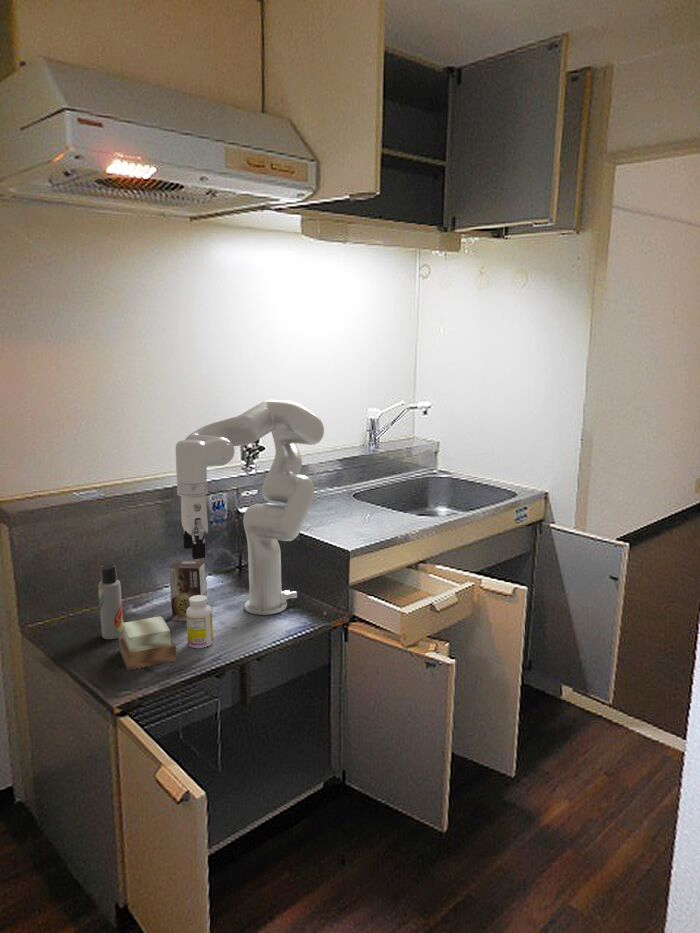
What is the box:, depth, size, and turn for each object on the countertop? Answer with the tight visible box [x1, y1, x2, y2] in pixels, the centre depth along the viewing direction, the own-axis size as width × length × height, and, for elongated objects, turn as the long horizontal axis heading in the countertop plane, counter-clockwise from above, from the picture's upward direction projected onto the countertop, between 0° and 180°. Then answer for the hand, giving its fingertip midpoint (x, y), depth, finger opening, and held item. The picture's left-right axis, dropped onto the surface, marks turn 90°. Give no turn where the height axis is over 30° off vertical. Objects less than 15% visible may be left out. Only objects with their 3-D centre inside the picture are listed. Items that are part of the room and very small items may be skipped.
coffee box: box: [168, 560, 209, 622], centre depth 208 cm, size 9×6×16 cm
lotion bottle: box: [97, 563, 124, 640], centre depth 196 cm, size 6×6×20 cm
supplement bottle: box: [186, 595, 214, 649], centre depth 191 cm, size 7×7×13 cm
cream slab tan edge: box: [118, 615, 177, 671], centre depth 185 cm, size 12×12×8 cm
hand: (194, 553), depth 188 cm, fingers open, 9 cm apart
